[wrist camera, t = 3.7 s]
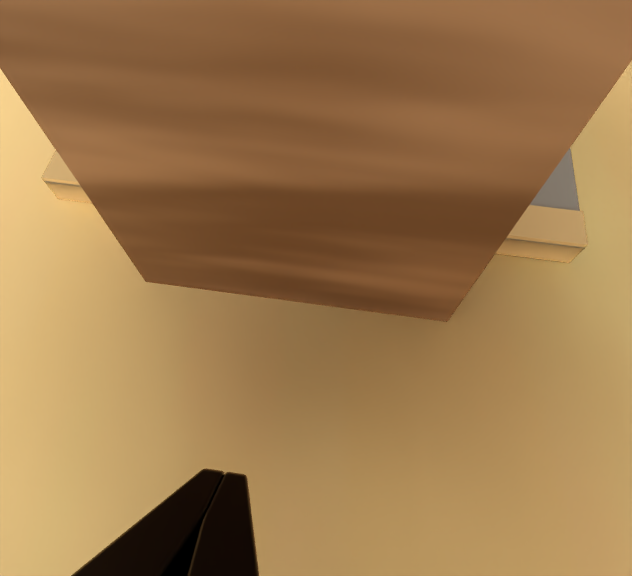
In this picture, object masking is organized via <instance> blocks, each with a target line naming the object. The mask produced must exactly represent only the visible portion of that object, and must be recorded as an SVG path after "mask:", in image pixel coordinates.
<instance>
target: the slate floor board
mask: <svg viewBox="0 0 632 576" xmlns="http://www.w3.org/2000/svg"><path fill="white" fill-rule="evenodd" d="M41 178H42V179H43V180H44V182H45V183H46V184H47V185H48V187H49V188H50V189H51V191H52V192H53V193H54V194H55V196H56V197H57V198H58V199H63V200H71V201H79V202H87V203H92V202H91V200H90V199H89V198H88V196H87V195H86V193H85V192H84V190H83V189H82V187H81V186H80V184H79V183H78V181H77V180H76V178H75V177H74V176H73V174H72V173H71V171H70V170H69V168H68V167H67V165H66V164H65V162H64V161H63V159H62V158H61V156H60V155H59V153H58V152H57V151H55V153H54V155H53V156H52V158H51V160H50V162H49V164H48V166H47V168H46V170H45V172H44V173H43V175H42V177H41ZM587 245H588V241H587V234H586V228H585V221H584V215H583V211H580V209H579V202H578V196H577V189H576V183H575V176H574V170H573V163H572V157H571V150H570V148H569V150H568V151H567V152H566V154H565V155H564V157H563V158H562V160H561V161H560V162H559V164H558V165H557V167H556V168H555V169H554V171H553V172H552V174H551V175H550V177H549V178H548V179H547V181H546V182H545V184H544V185H543V186H542V188H541V189H540V191H539V192H538V194H537V195H536V196H535V198H534V199H533V201H532V202H531V203H530V205H529V206H528V208H527V209H526V211H525V212H524V213H523V215H522V216H521V218H520V219H519V220H518V222H517V223H516V225H515V226H514V228H513V229H512V230H511V232H510V233H509V235H508V236H507V237H506V239H505V240H504V242H503V243H502V245H501V246H500V247H499V249H498V250H497V252H496V253H495V254H503V255H511V256H519V257H527V258H535V259H543V260H551V261H559V262H567V263H570V262H571V261H572V260H573V259H574V258H575V257H576V256H577V255H578V254H579V253H580V252H581V251H582V250H583V249H584V248H585V247H586V246H587Z"/></svg>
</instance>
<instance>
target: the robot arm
mask: <svg viewBox="0 0 632 576" xmlns="http://www.w3.org/2000/svg"><path fill="white" fill-rule="evenodd" d="M71 576H259V571H258V563H257V554H256V546H255V538H254V530H253V522H252V514H251V506H250V498H249V489H248V481H247V477H246V475H244V474H239V473H232V472H227V473H226V474H224V472H223V471H219V470H212V469H203V470H201V471H200V472H199V473H197V474H196V475H195V476H194V477H193V478H191V479H190V480H189V481H188V482H186V483H185V484H184V485H183V486H181V487H180V488H179V489H178V490H176V491H175V492H174V493H173V494H172V495H170V496H169V497H168V498H167V499H165V500H164V501H163V502H162V503H160V504H159V505H158V506H157V507H155V508H154V509H153V510H152V511H151V512H149V513H148V514H147V515H146V516H144V517H143V518H142V519H141V520H139V521H138V522H137V523H136V524H134V525H133V526H132V527H131V528H130V529H128V530H127V531H126V532H125V533H123V534H122V535H121V536H120V537H118V538H117V539H116V540H115V541H113V542H112V543H111V544H110V545H109V546H107V547H106V548H105V549H104V550H102V551H101V552H100V553H99V554H97V555H96V556H95V557H94V558H92V559H91V560H90V561H89V562H87V563H86V564H85V565H84V566H83V567H81V568H80V569H79V570H78V571H76V572H75V573H74V574H73V575H71Z"/></svg>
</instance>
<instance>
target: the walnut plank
mask: <svg viewBox="0 0 632 576" xmlns="http://www.w3.org/2000/svg"><path fill="white" fill-rule="evenodd" d="M631 60H632V0H0V68H1V70H2V71H3V73H4V74H5V76H6V77H7V79H8V80H9V82H10V83H11V85H12V86H13V87H14V89H15V90H16V92H17V93H18V95H19V96H20V98H21V99H22V101H23V102H24V104H25V105H26V107H27V108H28V109H29V111H30V112H31V114H32V115H33V117H34V118H35V120H36V121H37V123H38V124H39V126H40V127H41V129H42V130H43V131H44V133H45V134H46V136H47V137H48V139H49V140H50V142H51V143H52V145H53V146H54V148H55V149H56V151H57V152H58V153H59V155H60V156H61V158H62V159H63V161H64V162H65V164H66V165H67V167H68V168H69V170H70V171H71V173H72V174H73V176H74V177H75V178H76V180H77V181H78V183H79V184H80V186H81V187H82V189H83V190H84V192H85V193H86V195H87V196H88V198H89V199H90V200H91V202H92V203H93V205H94V206H95V208H96V209H97V211H98V212H99V214H100V215H101V217H102V218H103V220H104V221H105V222H106V224H107V225H108V227H109V228H110V230H111V231H112V233H113V234H114V236H115V237H116V239H117V240H118V242H119V243H120V244H121V246H122V247H123V249H124V250H125V252H126V253H127V255H128V256H129V258H130V259H131V261H132V262H133V264H134V265H135V267H136V268H137V269H138V271H139V272H140V274H141V275H142V277H143V278H144V280H145V281H146V282H153V283H160V284H168V285H175V286H183V287H190V288H198V289H205V290H213V291H220V292H228V293H235V294H243V295H250V296H258V297H265V298H273V299H281V300H288V301H296V302H303V303H311V304H318V305H326V306H333V307H341V308H348V309H356V310H363V311H371V312H378V313H386V314H393V315H401V316H409V317H416V318H424V319H431V320H439V321H446V322H447V321H448V320H449V318H450V317H451V315H452V314H453V313H454V311H455V310H456V308H457V307H458V305H459V304H460V303H461V301H462V300H463V298H464V297H465V296H466V294H467V293H468V291H469V290H470V288H471V287H472V286H473V284H474V283H475V281H476V280H477V279H478V277H479V276H480V274H481V273H482V271H483V270H484V269H485V267H486V266H487V264H488V263H489V262H490V260H491V259H492V257H493V256H494V254H495V253H496V252H497V250H498V249H499V247H500V246H501V245H502V243H503V242H504V240H505V239H506V237H507V236H508V235H509V233H510V232H511V230H512V229H513V228H514V226H515V225H516V223H517V222H518V220H519V219H520V218H521V216H522V215H523V213H524V212H525V211H526V209H527V208H528V206H529V205H530V203H531V202H532V201H533V199H534V198H535V196H536V195H537V194H538V192H539V191H540V189H541V188H542V186H543V185H544V184H545V182H546V181H547V179H548V178H549V177H550V175H551V174H552V172H553V171H554V169H555V168H556V167H557V165H558V164H559V162H560V161H561V160H562V158H563V157H564V155H565V154H566V152H567V151H568V150H569V148H570V147H571V145H572V144H573V143H574V141H575V140H576V138H577V137H578V135H579V134H580V133H581V131H582V130H583V128H584V127H585V126H586V124H587V123H588V121H589V120H590V118H591V117H592V116H593V114H594V113H595V111H596V110H597V109H598V107H599V106H600V104H601V103H602V101H603V100H604V99H605V97H606V96H607V94H608V93H609V92H610V90H611V89H612V87H613V86H614V84H615V83H616V82H617V80H618V79H619V77H620V76H621V75H622V73H623V72H624V70H625V69H626V67H627V66H628V65H629V63H630V62H631Z"/></svg>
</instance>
